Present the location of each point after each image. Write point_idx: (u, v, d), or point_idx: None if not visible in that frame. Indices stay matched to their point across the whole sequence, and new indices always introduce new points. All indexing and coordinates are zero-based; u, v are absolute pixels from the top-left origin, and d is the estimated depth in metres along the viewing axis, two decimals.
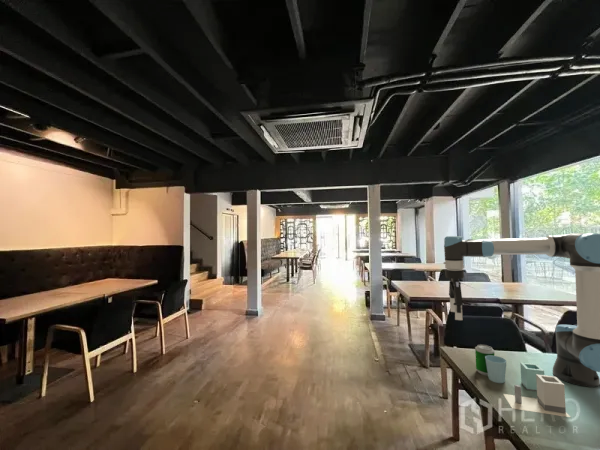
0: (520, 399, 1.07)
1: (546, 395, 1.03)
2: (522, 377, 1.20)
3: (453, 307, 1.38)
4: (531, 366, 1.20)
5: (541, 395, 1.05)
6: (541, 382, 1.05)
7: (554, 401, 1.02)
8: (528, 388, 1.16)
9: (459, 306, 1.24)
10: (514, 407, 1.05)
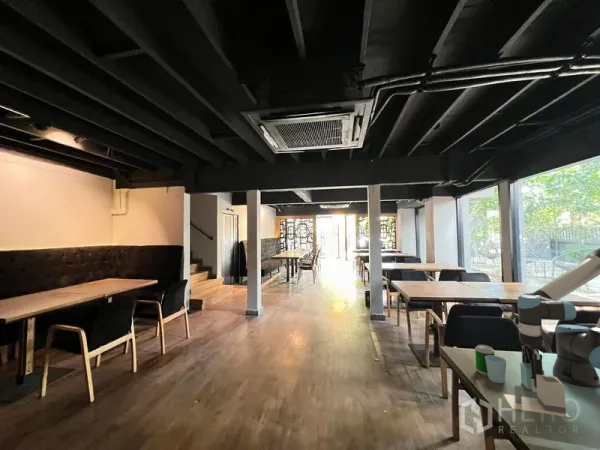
0: (520, 399, 1.07)
1: (546, 395, 1.03)
2: (522, 377, 1.20)
3: None
4: None
5: (541, 395, 1.05)
6: (541, 382, 1.05)
7: (554, 401, 1.02)
8: (528, 388, 1.16)
9: None
10: (514, 407, 1.05)
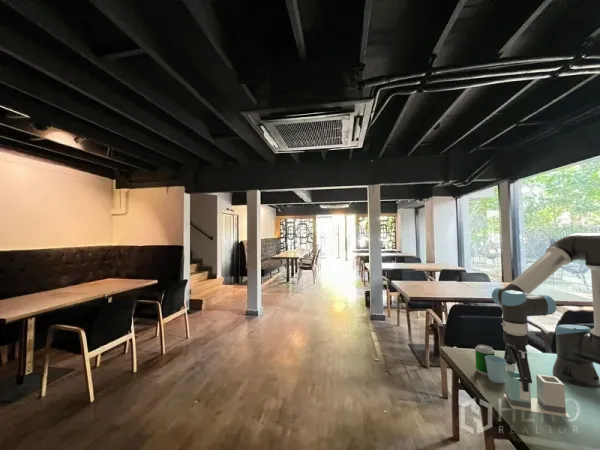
0: None
1: (546, 395, 1.03)
2: (506, 387, 1.10)
3: None
4: (516, 375, 1.10)
5: (541, 395, 1.05)
6: (541, 382, 1.05)
7: (554, 401, 1.02)
8: (512, 399, 1.06)
9: (526, 384, 1.00)
10: (514, 407, 1.05)
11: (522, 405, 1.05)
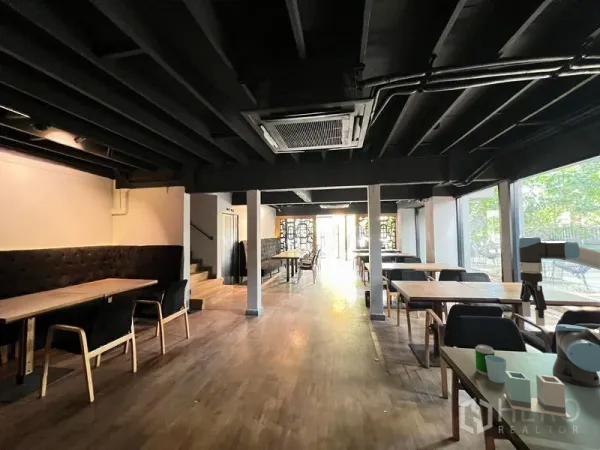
0: None
1: (546, 395, 1.03)
2: (506, 387, 1.10)
3: (526, 311, 1.31)
4: (516, 375, 1.10)
5: (541, 395, 1.05)
6: (541, 382, 1.05)
7: (554, 401, 1.02)
8: (512, 399, 1.06)
9: (542, 311, 1.17)
10: (514, 407, 1.05)
11: (522, 405, 1.05)
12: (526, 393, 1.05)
